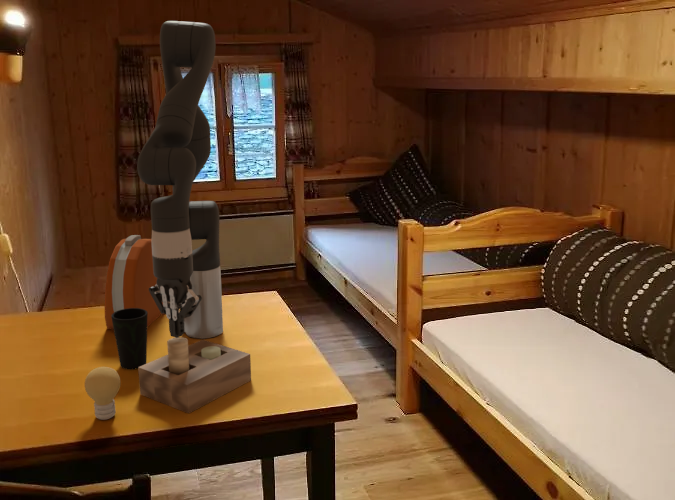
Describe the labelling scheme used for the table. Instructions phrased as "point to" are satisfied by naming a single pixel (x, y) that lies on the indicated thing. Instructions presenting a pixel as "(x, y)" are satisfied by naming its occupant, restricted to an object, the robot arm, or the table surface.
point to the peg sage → (211, 352)
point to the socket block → (195, 377)
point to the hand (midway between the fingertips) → (177, 335)
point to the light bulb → (103, 390)
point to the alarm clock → (130, 279)
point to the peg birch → (178, 355)
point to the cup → (131, 336)
